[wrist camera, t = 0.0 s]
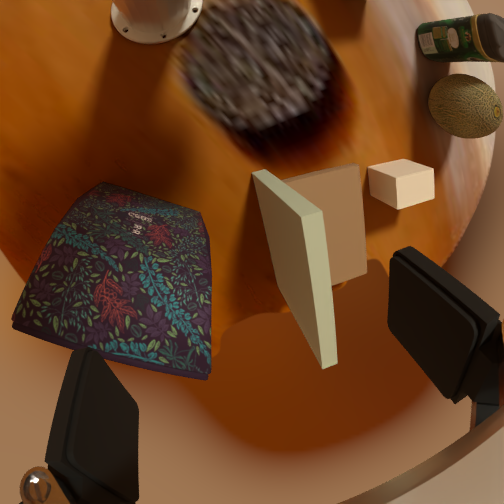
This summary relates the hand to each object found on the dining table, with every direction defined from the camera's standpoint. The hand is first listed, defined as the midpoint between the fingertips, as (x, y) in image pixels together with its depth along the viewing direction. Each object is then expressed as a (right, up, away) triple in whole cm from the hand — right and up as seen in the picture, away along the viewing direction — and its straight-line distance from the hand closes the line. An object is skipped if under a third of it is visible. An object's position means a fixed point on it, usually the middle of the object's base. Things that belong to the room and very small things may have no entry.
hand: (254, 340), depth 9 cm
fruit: (+34, +30, +36) cm, 58 cm away
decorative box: (-16, +7, +35) cm, 39 cm away
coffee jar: (+33, +41, +30) cm, 61 cm away
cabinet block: (+23, +15, +40) cm, 49 cm away
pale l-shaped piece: (+9, +7, +40) cm, 42 cm away
